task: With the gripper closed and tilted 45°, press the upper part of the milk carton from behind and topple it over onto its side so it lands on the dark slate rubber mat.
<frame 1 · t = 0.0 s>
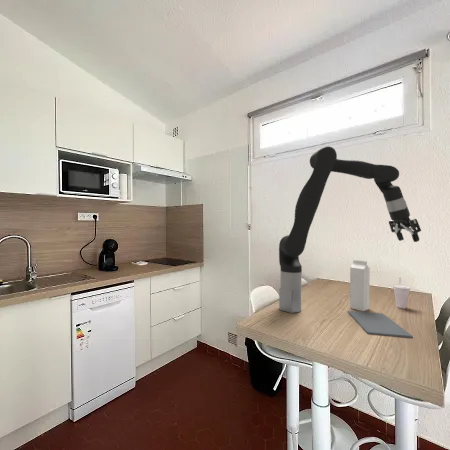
hand: (408, 240, 113), 31 cm above the table, tool tilted 20°, fingers open, 8 cm apart
smoothie: (401, 307, 113), on the table
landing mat: (375, 323, 93), on the table
milk: (359, 308, 110), on the table
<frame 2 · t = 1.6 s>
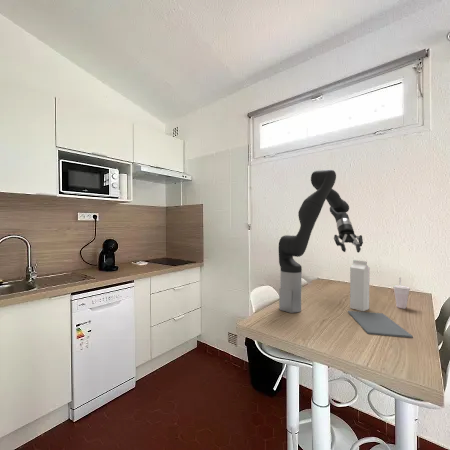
hand: (351, 251, 122), 25 cm above the table, tool tilted 45°, fingers open, 6 cm apart
nothing on the table moved.
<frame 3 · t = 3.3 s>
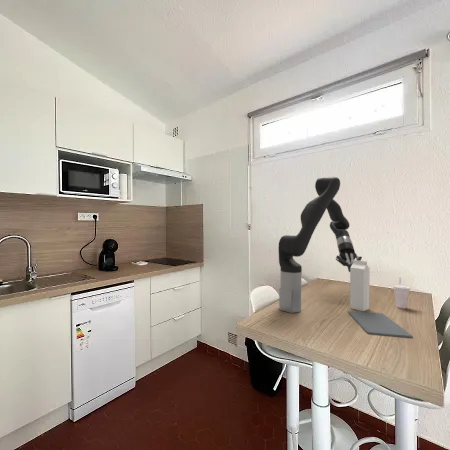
hand: (352, 272, 120), 15 cm above the table, tool tilted 45°, fingers closed
nothing on the table moved.
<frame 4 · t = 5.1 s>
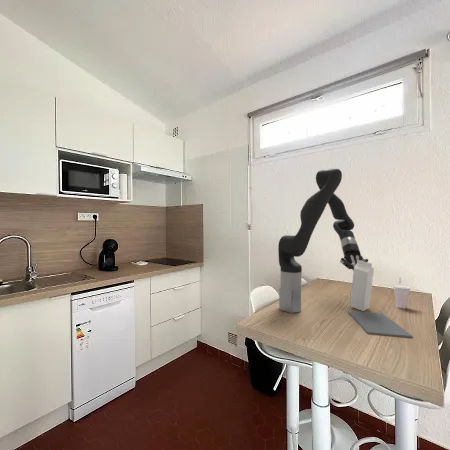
hand: (358, 275, 112), 15 cm above the table, tool tilted 45°, fingers closed
milk: (359, 306, 110), point 1 cm above the table, touching gripper
everything else where it was.
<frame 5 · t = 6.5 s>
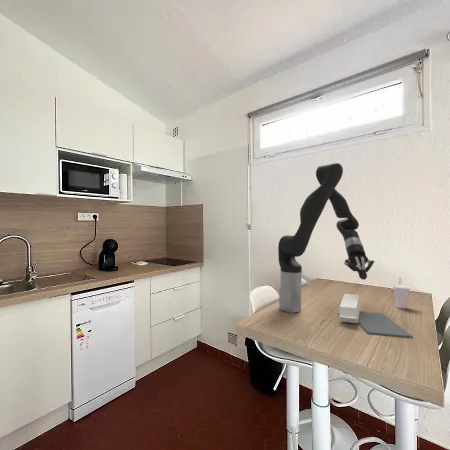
hand: (364, 278, 105), 15 cm above the table, tool tilted 45°, fingers closed
milk: (352, 300, 109), point 4 cm above the table, touching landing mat
everything else where it was.
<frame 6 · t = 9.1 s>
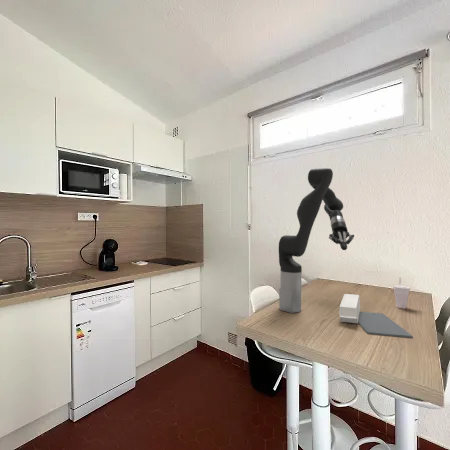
hand: (344, 249, 122), 26 cm above the table, tool tilted 45°, fingers closed
nothing on the table moved.
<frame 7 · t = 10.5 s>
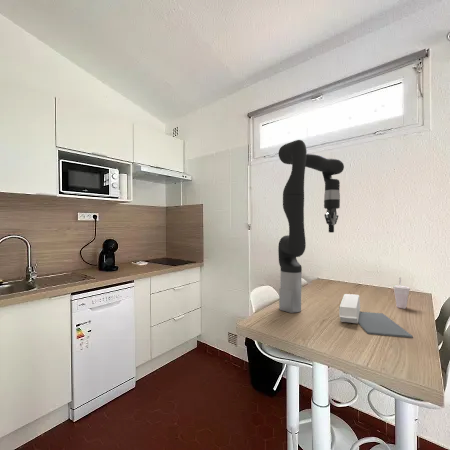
hand: (331, 232, 125), 35 cm above the table, tool pointing down, fingers closed
nothing on the table moved.
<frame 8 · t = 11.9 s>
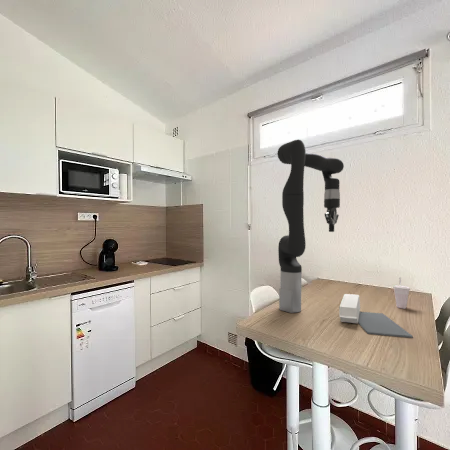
hand: (331, 231, 125), 35 cm above the table, tool pointing down, fingers closed
nothing on the table moved.
at the end: milk tilted 92°; milk touching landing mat, table; the gripper is holding nothing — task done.
